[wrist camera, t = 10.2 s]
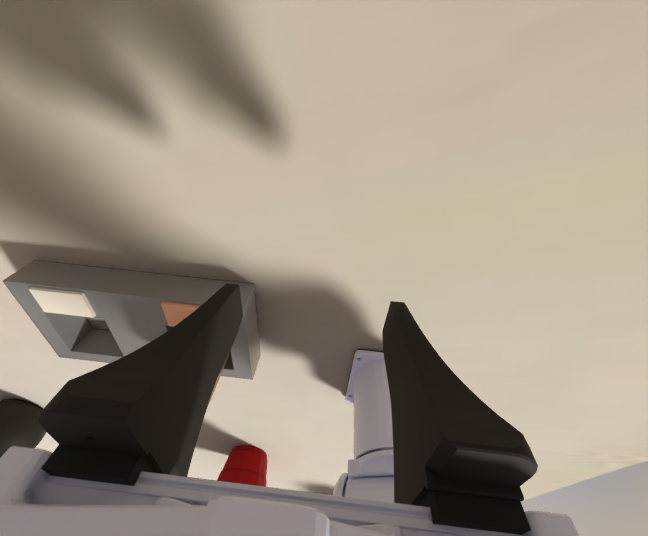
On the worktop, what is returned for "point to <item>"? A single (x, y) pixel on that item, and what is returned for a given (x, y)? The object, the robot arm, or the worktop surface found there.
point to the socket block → (123, 310)
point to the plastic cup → (245, 466)
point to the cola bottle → (19, 425)
